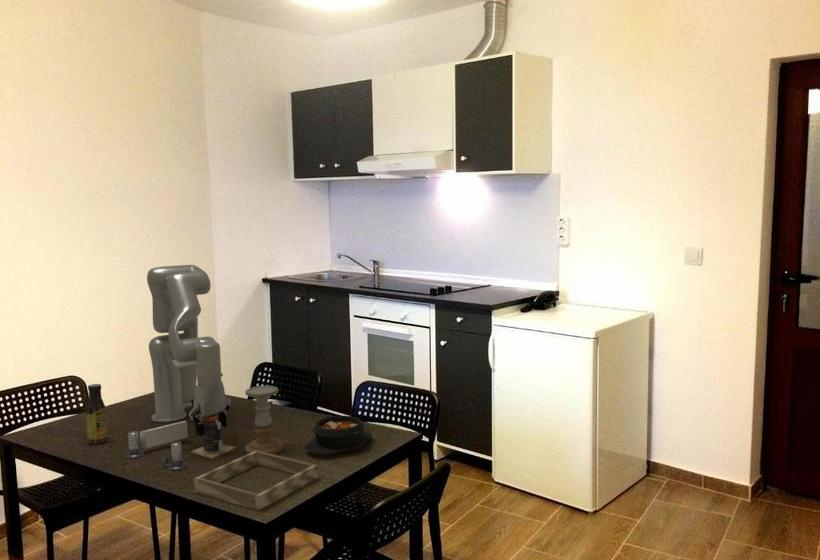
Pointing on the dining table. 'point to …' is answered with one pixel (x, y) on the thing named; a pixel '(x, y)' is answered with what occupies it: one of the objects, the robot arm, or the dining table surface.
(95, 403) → the sauce bottle
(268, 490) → the square wooden frame
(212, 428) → the pill bottle
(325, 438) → the casserole
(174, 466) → the gate posts
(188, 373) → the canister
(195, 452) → the coaster
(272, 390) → the candle holder
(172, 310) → the robot arm
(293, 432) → the dining table surface
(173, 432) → the gate
